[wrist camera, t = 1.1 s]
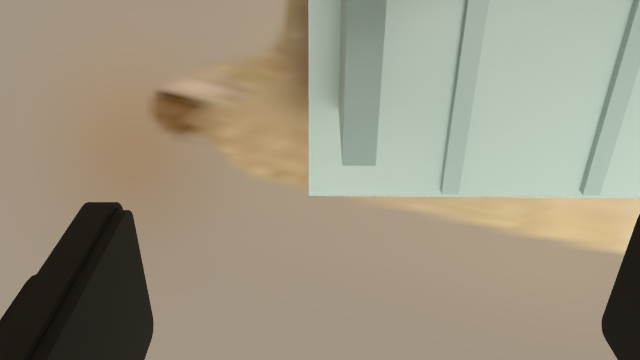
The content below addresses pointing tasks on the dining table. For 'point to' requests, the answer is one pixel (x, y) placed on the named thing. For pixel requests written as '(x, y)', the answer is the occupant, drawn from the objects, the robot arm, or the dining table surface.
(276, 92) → the dining table surface
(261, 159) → the dining table surface
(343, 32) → the lid
